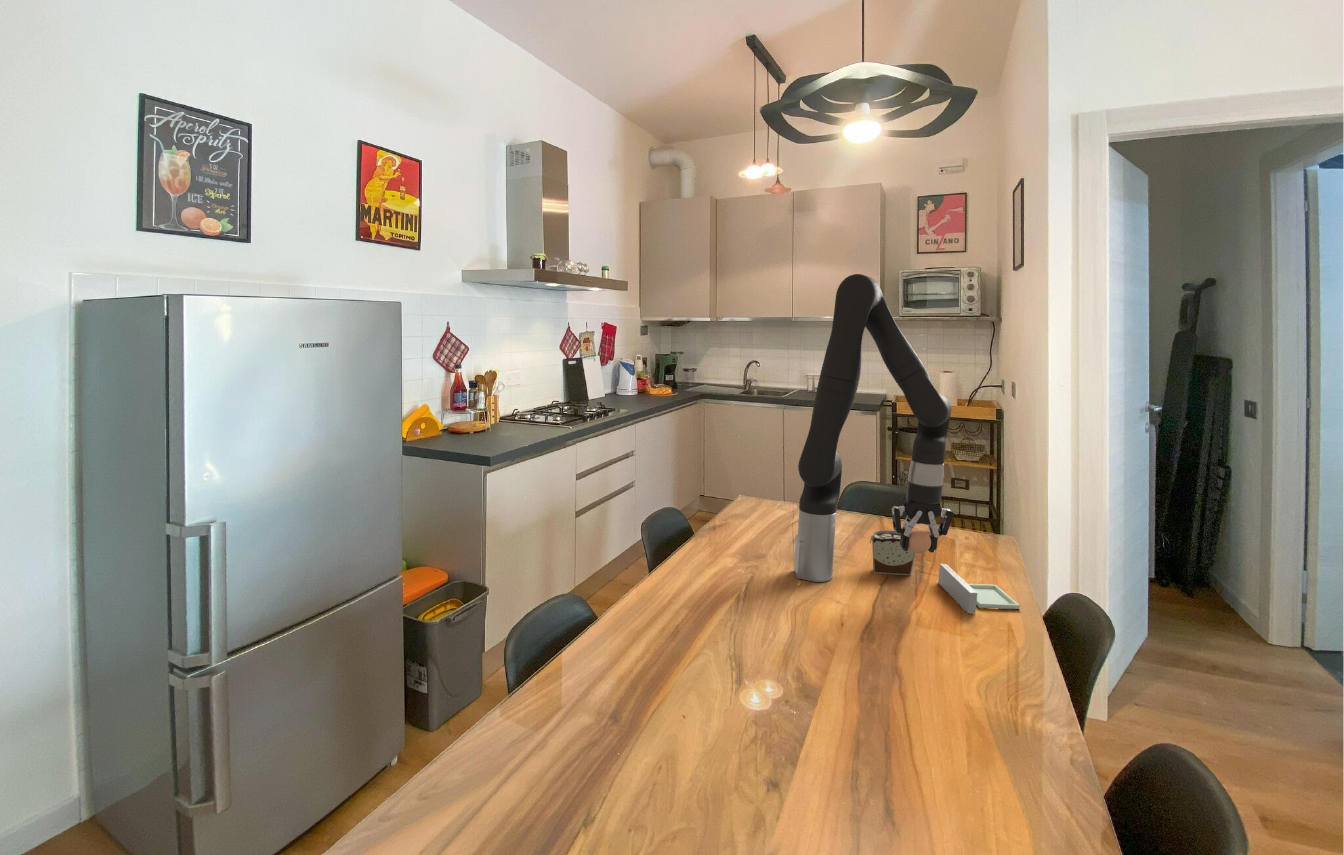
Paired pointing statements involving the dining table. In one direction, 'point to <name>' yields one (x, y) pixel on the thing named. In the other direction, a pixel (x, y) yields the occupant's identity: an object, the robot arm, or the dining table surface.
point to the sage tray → (993, 597)
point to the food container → (890, 554)
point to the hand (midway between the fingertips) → (917, 550)
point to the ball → (919, 541)
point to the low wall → (957, 588)
